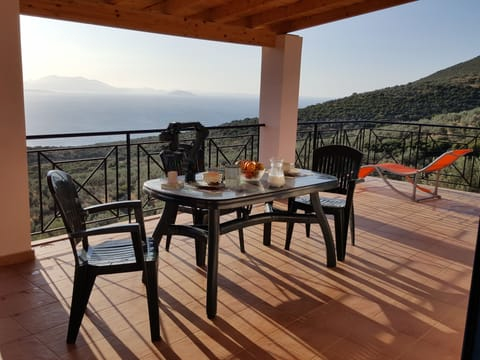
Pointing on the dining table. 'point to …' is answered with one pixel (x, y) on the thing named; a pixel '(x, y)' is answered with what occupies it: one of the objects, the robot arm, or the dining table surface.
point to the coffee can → (232, 175)
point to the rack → (172, 185)
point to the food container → (218, 171)
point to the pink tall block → (172, 177)
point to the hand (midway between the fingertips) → (174, 164)
